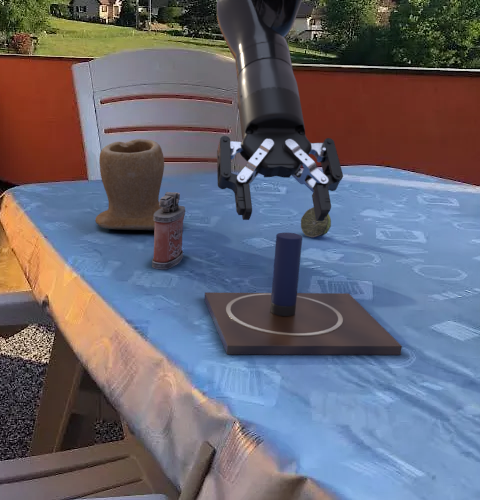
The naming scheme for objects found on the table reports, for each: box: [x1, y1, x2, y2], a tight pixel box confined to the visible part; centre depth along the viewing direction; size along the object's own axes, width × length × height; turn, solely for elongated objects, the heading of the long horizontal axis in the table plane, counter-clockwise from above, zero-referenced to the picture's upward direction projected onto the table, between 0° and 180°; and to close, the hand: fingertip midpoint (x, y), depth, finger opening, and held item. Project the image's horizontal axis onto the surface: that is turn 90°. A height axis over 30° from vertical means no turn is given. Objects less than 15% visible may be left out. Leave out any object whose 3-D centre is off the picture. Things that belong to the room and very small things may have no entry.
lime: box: [300, 206, 332, 238], centre depth 117 cm, size 4×5×5 cm
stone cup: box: [95, 138, 186, 231], centre depth 117 cm, size 15×12×15 cm
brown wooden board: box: [203, 291, 403, 356], centre depth 80 cm, size 18×16×1 cm
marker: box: [270, 232, 303, 316], centre depth 79 cm, size 3×3×9 cm
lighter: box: [151, 191, 186, 270], centre depth 101 cm, size 8×3×10 cm, turn 159°
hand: (285, 217), depth 80 cm, fingers open, 8 cm apart
